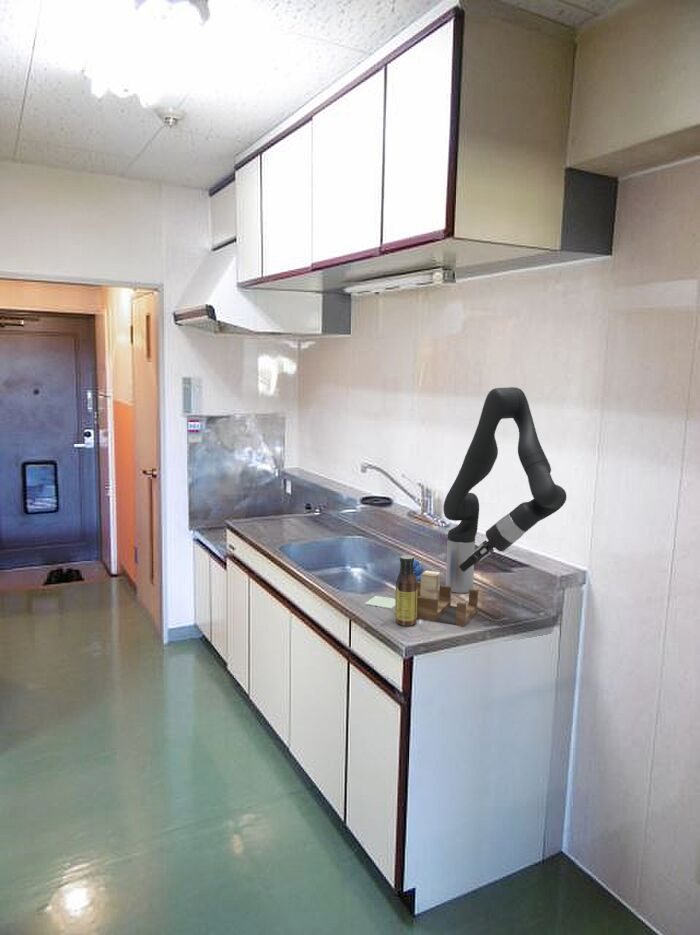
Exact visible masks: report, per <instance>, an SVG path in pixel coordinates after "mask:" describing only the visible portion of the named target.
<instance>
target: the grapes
mask: <svg viewBox="0 0 700 935" xmlns="http://www.w3.org/2000/svg"><path fill="white" fill-rule="evenodd" d="M413 570H414V571H413V573H414V575H415V576H416V579H417V582H421V574H422V573H424V568H423V566H422V565H420V562H419V560H418V559H414V563H413Z"/></svg>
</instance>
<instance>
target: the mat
mask: <svg viewBox="0 0 700 935" xmlns="http://www.w3.org/2000/svg"><path fill="white" fill-rule="evenodd" d="M364 605H365V606H369V605H371V606H370V607H375V606H377V607H376V608H381V607H382V608H383V609H387V610H393V609H394V608H395V606H396V598H391V597H388V596H387V597H385V596H379V595H375V596H373V597H372V598H370V599H369V600H368V601H366V602H365V603H364Z"/></svg>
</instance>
